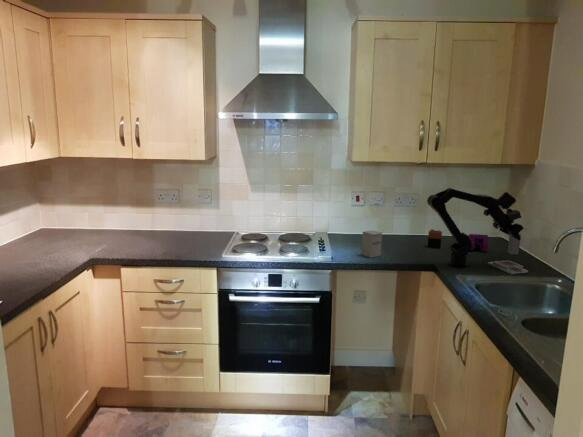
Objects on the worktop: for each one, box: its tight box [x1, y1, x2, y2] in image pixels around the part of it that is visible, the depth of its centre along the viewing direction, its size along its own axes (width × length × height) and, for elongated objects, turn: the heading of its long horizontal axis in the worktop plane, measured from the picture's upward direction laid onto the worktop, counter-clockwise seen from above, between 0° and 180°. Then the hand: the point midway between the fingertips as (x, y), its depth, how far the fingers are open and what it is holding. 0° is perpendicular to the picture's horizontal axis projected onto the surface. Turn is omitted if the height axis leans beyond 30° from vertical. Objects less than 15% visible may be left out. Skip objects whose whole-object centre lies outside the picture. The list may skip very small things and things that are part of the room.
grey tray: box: [487, 259, 529, 275], centre depth 225 cm, size 9×17×2 cm, turn 17°
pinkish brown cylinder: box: [361, 229, 383, 259], centre depth 242 cm, size 7×7×13 cm
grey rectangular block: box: [507, 233, 522, 255], centre depth 228 cm, size 4×4×10 cm
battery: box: [427, 229, 443, 250], centre depth 260 cm, size 4×7×10 cm, turn 67°
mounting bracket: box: [467, 233, 489, 253], centre depth 260 cm, size 10×8×18 cm
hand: (517, 238), depth 227 cm, fingers closed on grey rectangular block, 4 cm apart
